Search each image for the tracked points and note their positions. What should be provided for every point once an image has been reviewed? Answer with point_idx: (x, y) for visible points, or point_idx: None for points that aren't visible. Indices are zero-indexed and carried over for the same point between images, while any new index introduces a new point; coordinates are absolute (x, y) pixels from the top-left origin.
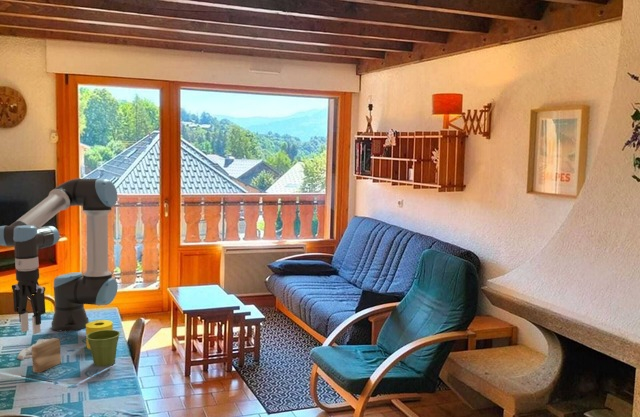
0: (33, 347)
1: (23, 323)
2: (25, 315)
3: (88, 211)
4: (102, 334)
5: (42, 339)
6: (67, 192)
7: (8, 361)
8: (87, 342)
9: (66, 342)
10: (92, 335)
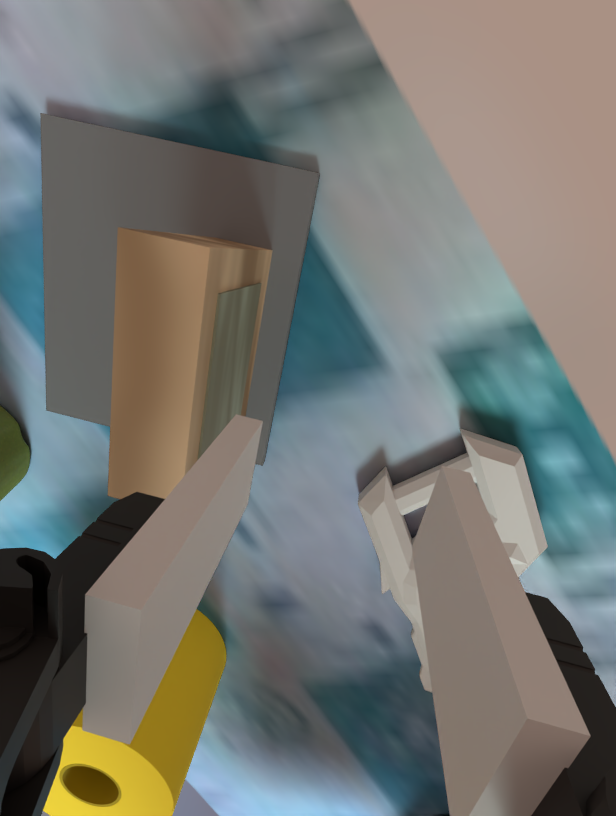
0: (186, 242)
1: (458, 563)
2: (470, 744)
3: None
4: None
5: None
6: None
7: (568, 421)
8: (180, 644)
9: (370, 694)
10: None
